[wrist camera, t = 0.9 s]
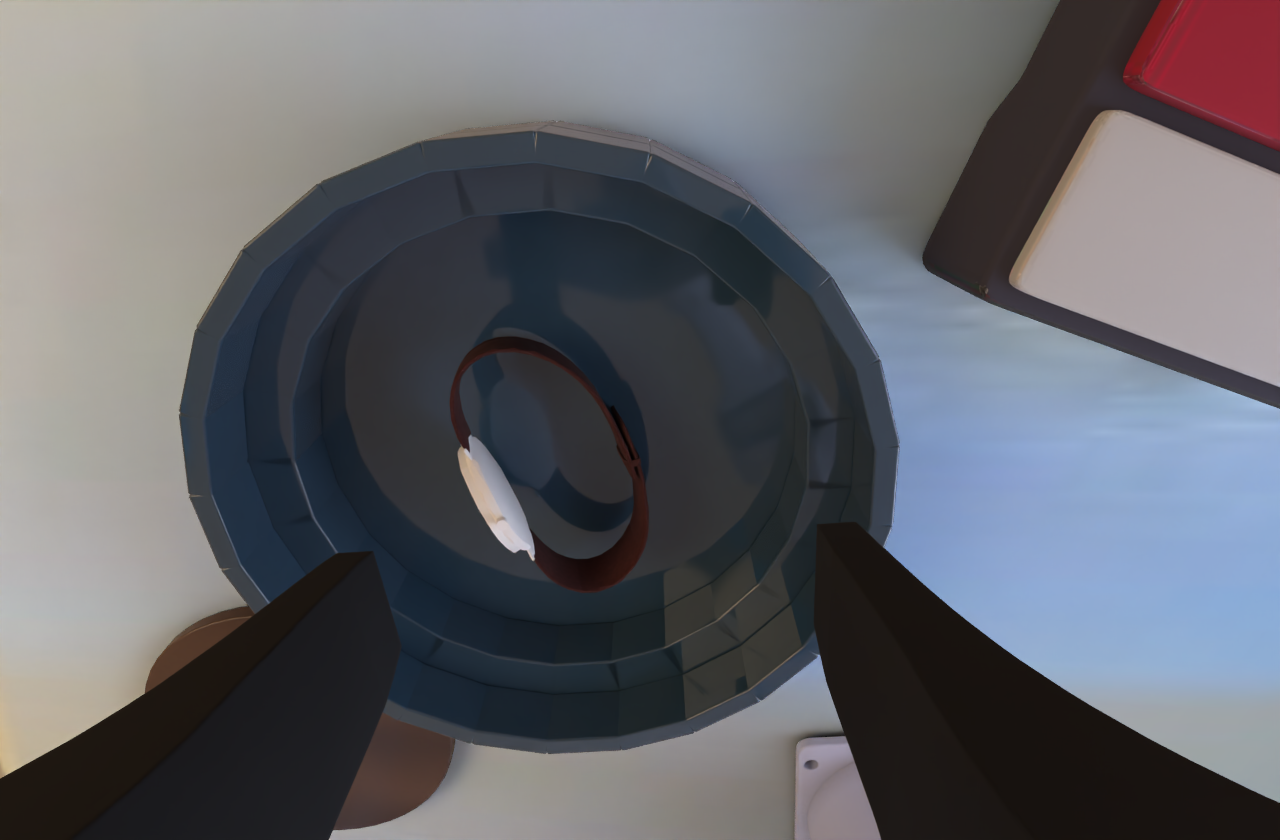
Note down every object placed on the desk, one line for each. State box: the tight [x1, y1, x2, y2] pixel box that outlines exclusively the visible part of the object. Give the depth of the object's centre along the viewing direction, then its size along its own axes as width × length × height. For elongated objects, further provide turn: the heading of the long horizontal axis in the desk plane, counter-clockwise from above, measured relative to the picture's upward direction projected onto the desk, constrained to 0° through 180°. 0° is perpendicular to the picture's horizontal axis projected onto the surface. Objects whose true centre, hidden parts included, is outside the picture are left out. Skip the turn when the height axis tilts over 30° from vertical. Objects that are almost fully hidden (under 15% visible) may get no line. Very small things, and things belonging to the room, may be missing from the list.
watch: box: [449, 336, 649, 593], centre depth 19 cm, size 8×5×4 cm, turn 24°
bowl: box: [179, 120, 900, 754], centre depth 19 cm, size 17×17×4 cm
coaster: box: [145, 606, 455, 830], centre depth 26 cm, size 11×11×1 cm
